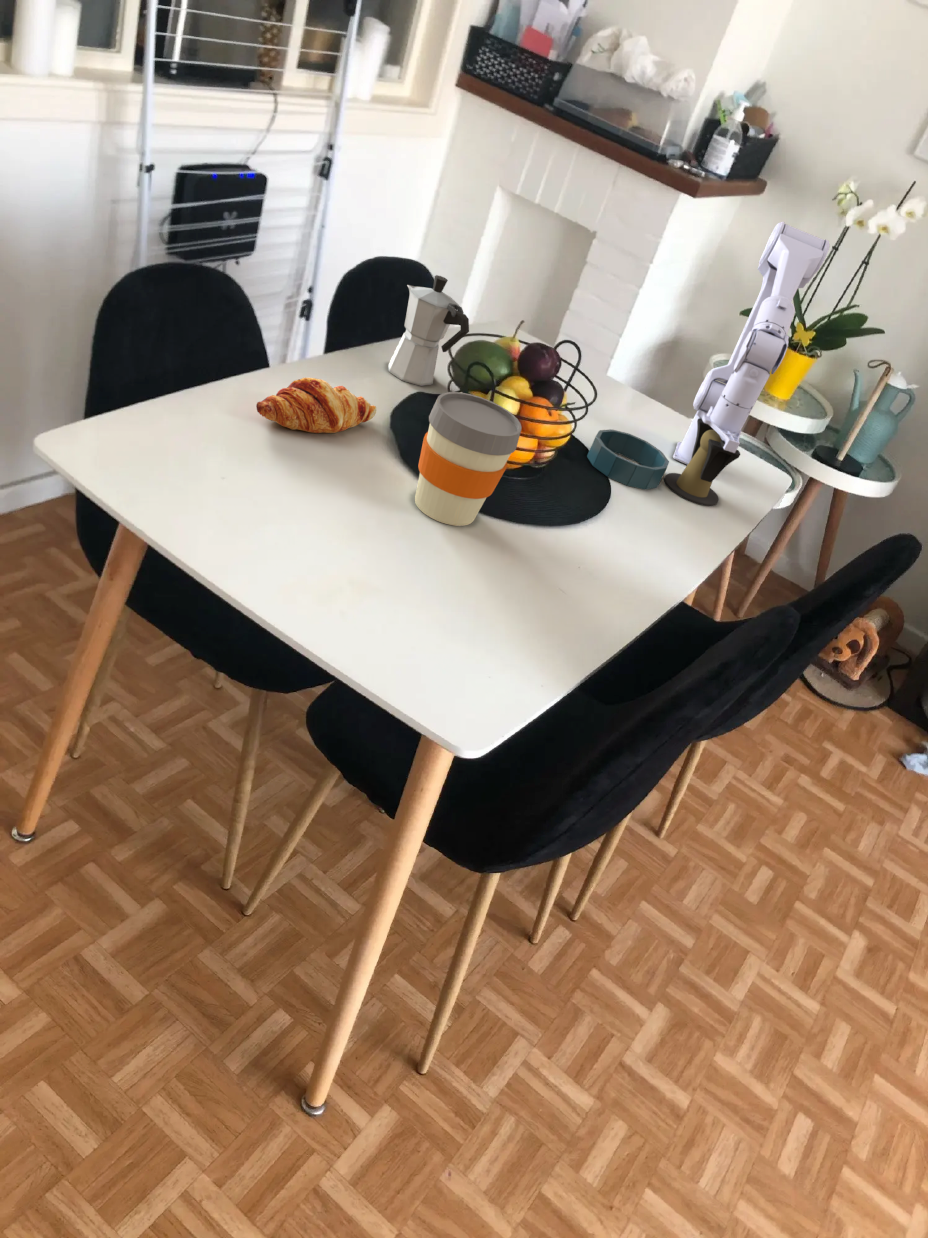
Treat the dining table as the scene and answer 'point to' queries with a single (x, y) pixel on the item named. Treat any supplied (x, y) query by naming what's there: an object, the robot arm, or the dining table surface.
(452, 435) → the reusable coffee cup
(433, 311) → the coffee maker
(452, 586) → the dining table surface
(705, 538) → the dining table surface
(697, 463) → the tan game pawn
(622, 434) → the teal hollow ring
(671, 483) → the black mat
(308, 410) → the croissant
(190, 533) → the dining table surface
